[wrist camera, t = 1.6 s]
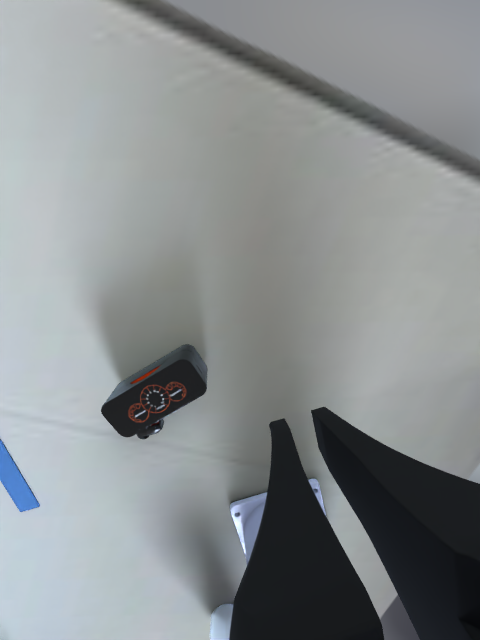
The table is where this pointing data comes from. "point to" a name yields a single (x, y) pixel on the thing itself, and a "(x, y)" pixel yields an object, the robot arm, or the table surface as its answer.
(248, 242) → the table surface
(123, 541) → the table surface
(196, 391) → the black rounded block
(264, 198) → the table surface
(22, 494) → the tape line
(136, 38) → the table surface
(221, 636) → the milkshake
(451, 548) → the robot arm
